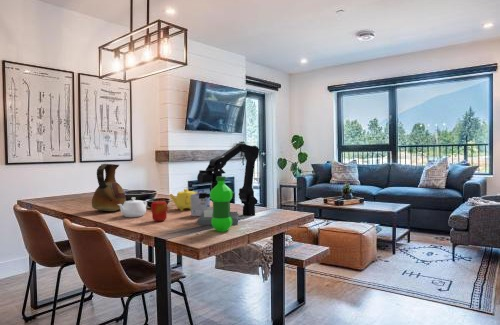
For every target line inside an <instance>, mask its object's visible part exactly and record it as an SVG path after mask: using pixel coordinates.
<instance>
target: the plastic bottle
mask: <svg viewBox="0 0 500 325" xmlns="http://www.w3.org/2000/svg"><path fill="white" fill-rule="evenodd" d="M226 177H227V176H225V175H222V176H219V177H216V181H218V184H217V185H216V186H215V187H214V188H213V189H212V190H211V192H210V191H209V194H210V198H211V200H210V201H211V202H212V201H213V202H212V207H213V218H212V220H211V224H212V225H211V226H212V228H214V230H215V231H216V232H227V231H228V230H229V229H230V228H231V227H232V219H231V217H230V212H231V200H232V199H233V198H232V196H233V193H232V192H233V190H232V189H231V188H230V187H229V186H228V185H227V184H226V183H225V181H226V179H227V178H226Z"/></svg>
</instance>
